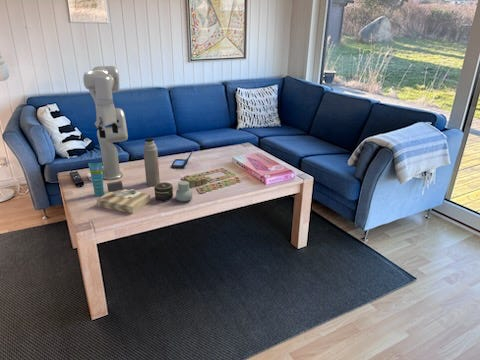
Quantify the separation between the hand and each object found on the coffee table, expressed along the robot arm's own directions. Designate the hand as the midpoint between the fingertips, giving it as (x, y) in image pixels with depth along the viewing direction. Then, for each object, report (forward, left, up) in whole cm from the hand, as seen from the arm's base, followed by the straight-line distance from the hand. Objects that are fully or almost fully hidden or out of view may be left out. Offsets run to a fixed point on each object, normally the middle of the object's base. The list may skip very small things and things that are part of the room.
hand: (109, 135), depth 190 cm
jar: (+23, +11, -37) cm, 45 cm away
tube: (-13, +1, -36) cm, 39 cm away
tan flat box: (+7, -3, -36) cm, 37 cm away
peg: (+4, -1, -32) cm, 32 cm away
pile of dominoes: (+37, +45, -37) cm, 69 cm away
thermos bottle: (+6, +26, -36) cm, 45 cm away
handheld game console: (+6, +62, -37) cm, 72 cm away
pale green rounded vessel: (+34, +14, -37) cm, 52 cm away
